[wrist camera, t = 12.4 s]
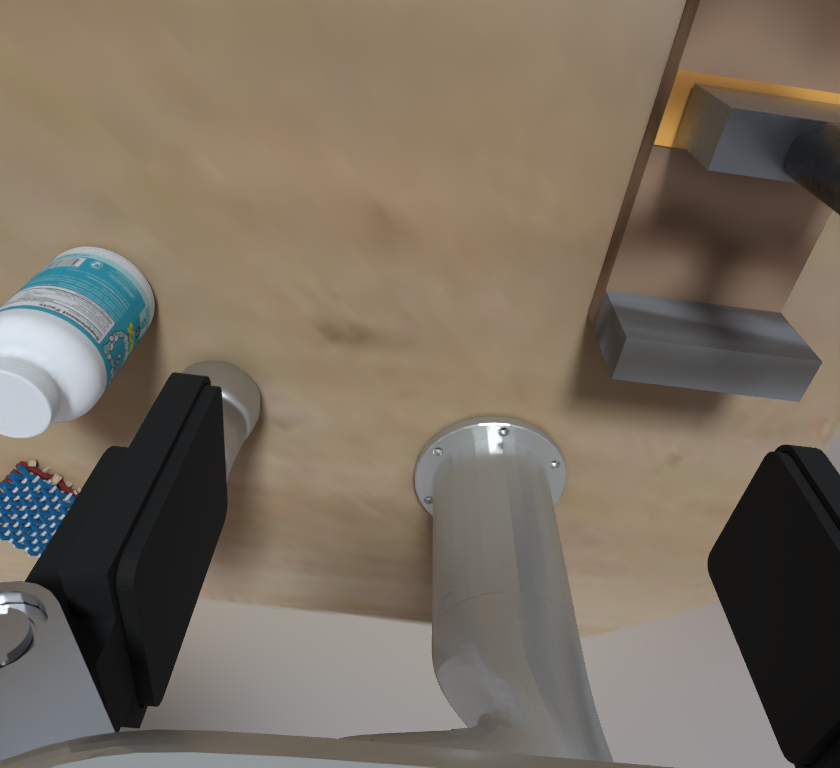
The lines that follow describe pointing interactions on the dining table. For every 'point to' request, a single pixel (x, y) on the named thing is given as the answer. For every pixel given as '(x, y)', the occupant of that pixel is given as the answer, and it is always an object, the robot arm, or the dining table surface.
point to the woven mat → (33, 506)
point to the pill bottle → (68, 337)
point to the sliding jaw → (765, 138)
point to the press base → (718, 216)
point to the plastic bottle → (232, 403)
